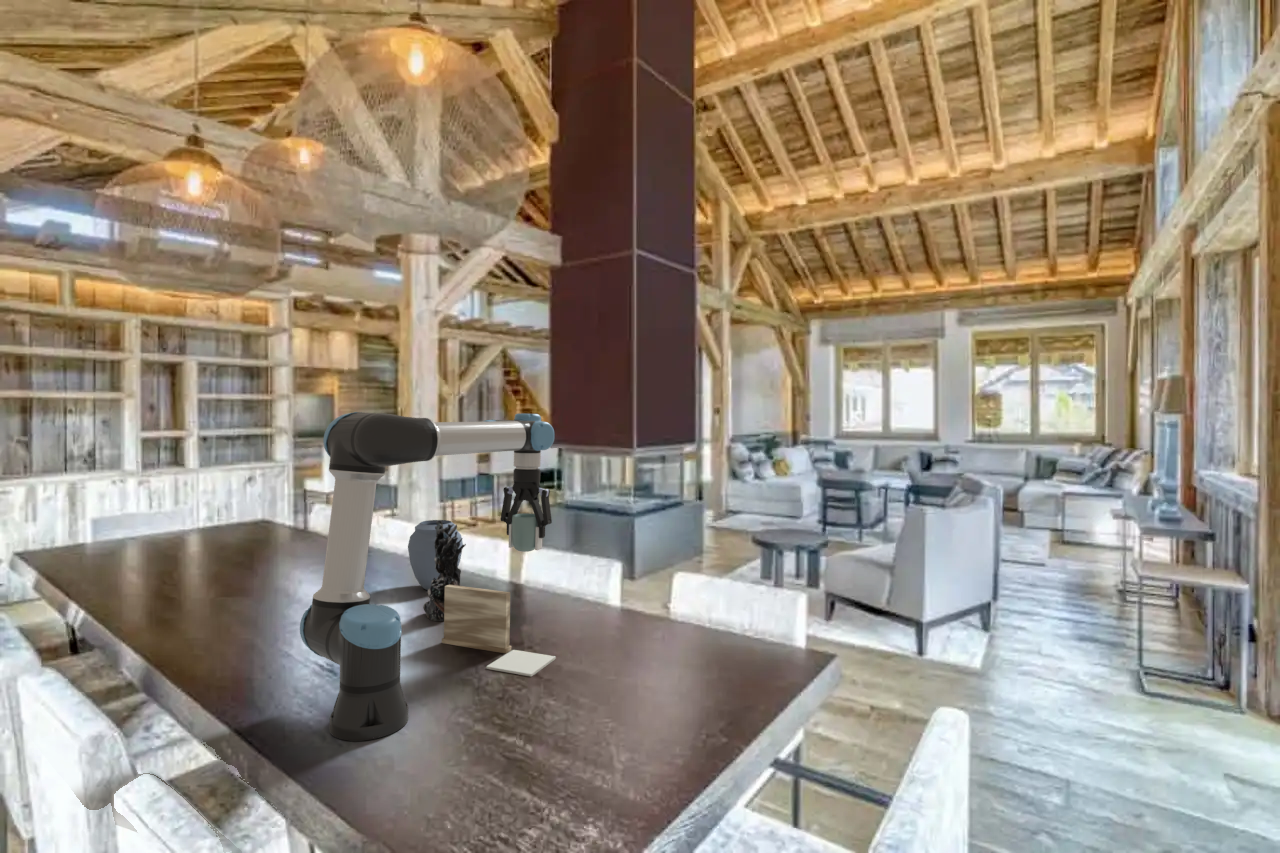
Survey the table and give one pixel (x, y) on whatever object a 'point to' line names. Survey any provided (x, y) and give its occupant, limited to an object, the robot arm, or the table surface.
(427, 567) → the vase
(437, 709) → the table surface
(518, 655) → the pad
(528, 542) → the cup
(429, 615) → the sculpture
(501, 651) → the wooden board
